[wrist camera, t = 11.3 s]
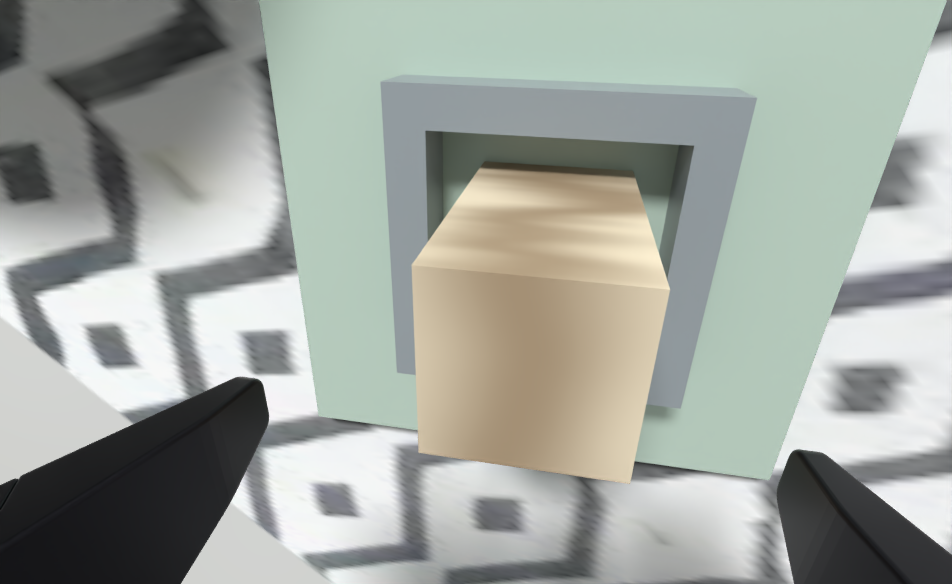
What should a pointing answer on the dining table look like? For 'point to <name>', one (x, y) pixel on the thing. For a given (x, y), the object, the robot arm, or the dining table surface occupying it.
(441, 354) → the birch peg
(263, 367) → the dining table surface
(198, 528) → the robot arm
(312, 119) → the socket board
